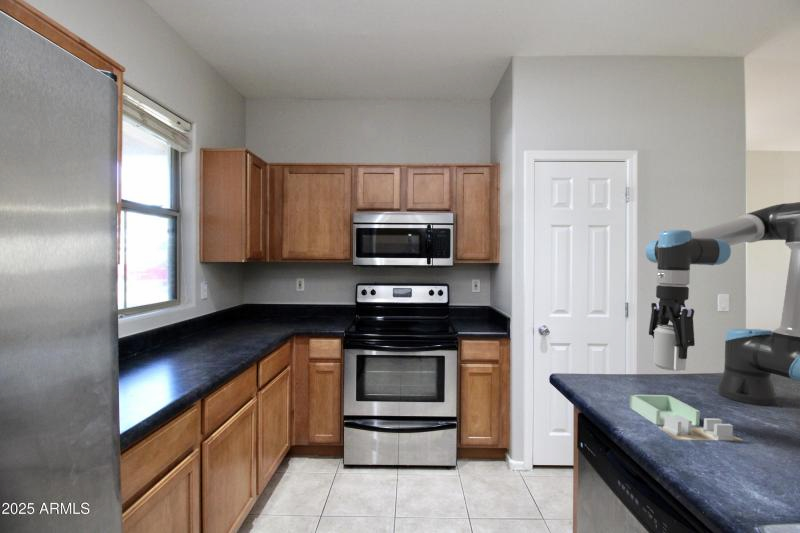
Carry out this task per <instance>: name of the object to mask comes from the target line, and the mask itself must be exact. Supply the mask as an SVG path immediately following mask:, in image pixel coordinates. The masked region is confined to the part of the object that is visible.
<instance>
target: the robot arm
mask: <svg viewBox="0 0 800 533" xmlns="http://www.w3.org/2000/svg"><path fill="white" fill-rule="evenodd" d="M760 241H761V242H762V241H785V242H784V243H785V244H784V245H786V246H787V247H788V248H789V249H790V256H789V265H788V270H787V277H786V286H785V290H784V293H785V294H784V299H783V300H784V301H783V307H782V313H781V321H780V326H779V327H778V328H776V329H774V330H769V329H760V328H759V329H757V328H755V329H754V328H732V329H731V328H730V329H729V330H727V332H726V336H725V337H726V338H725V340H724V343H725V345H724V346H725V347H724V370H723V373H722V375H721V378H720V380H719V382H718V383H717V384H716V393H717V394H719V395H720V396H723V397H725V398H728V399H730V400H733V401H738V402H741V403H746V404H751V405H759V406H774V405H777V402H778V395H777V394H776V392H775V389H774V384H773V382H772V379H771V378H772V377H771V375H772V374H773V375H777V376H779V377H784V378H788V379H791V380H793V381H795V382H800V201H798V202H789V203H787V202H786V203H780V204H775V205H770V206H768V207H767V206H766V207H764V208H761V209H757V210H754V211H751V212H748V213H745V214H742V215H739V216H738V217H737V218H736V219H734V220H732V221H728V222H724V223H720V224H717V225H714V226H710V227H707V228H703V229H699V230H695V231H693V232H692V231H690V230H685V229H670V230H669V229H668V230H667V229H666V230H662V231H660V232H659V235H658V239H656V240H652V241H650V242H649V243H648V244H647V245H646V247H645V256H646V258H647V260H648V261H650V262H651V263H654V264H657V266H656V267H657V273H656V283H657V285H656V289H655V296H656V298H657V299H659V301H658V302H651V304H650V305H651V306H650V307H651V313H650V321H649V329H648V335H650V336H652V339H654V330H655V329H656V328H657V327H658V326H657V325H659V324H662V325H669V322H670V323H671V325H673V328H674V333H675V337H676V341H677V344H676V345H675V351H674V370H680V371H686V370H687V369H686V368H687V366H686V364H687V358H688V348H689V347H695V331H694V330H695V329H694V315H695V310H694V308H687V307H686V304H685V301H688V300H689V297H690V296H689V294H690V293H689V292H690V288H689V286H687V285H690V276H691V275H690V274H691V265H699V266H702V265H703V266H706V265H707V266H716V265H722V264H725V263H726V262H727V261H728V260H729V259H730V257H731V251H732V250H731V246H734V245H738V244H741V243H749V244H750V243H751V244H752V243H756V242H760Z"/></svg>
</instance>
